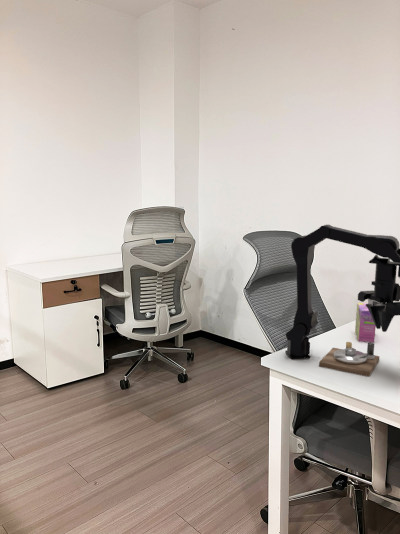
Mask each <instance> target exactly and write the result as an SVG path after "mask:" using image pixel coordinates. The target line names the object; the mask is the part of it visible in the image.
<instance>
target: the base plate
mask: <svg viewBox="0 0 400 534" xmlns="http://www.w3.org/2000/svg"><path fill="white" fill-rule="evenodd" d="M352 345H353V344H352V342H351V341H346V343H345V348H353V346H352ZM341 349H342V348H338V347H332V348H331V349H330V350H329V351H328V352H327V353H326V355H324V356H323V357H322V358H321V360H320V361H319V364H318V366H319V367H321V368H325V369H331V370H335V371H338V372H344V373H349V374H352V375H353V374H354V375H358V376H365V377H367V378H368V377H369V378H370V376H371V375H372V373H373V371H374V370H375V369H376V367H377V365H378V364H379V362H380V355H376V354H375V358H374V359H367V361H366V362H365V363H363V364H346V363H342V362H339V361H337V360H335V359H334V352H335V351H337V350H341Z"/></svg>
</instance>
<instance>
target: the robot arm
mask: <svg viewBox="0 0 400 534" xmlns="http://www.w3.org/2000/svg"><path fill="white" fill-rule="evenodd" d="M326 239H328V240H332V241H335V242H339V243H343V244H347V245H352V246H356V247H360V248H363V249H365V250H367V251H368V252H370V253H372V254H375V255H374V257H372V258H371V259H370V260H369V261H368V264H375V270H374V271H375V274H374V275H375V276H374V280H373V281H371V285H372V286H373V288H374V289H373V290H360V291H359V292H358V294H357V301H359V302H360V303H364V302H365V301H366V300H367V303H366V306H367V308H368V310H369V312H370V314H371V316H372V318H373V321H374V323H375V326H376V328H375V329H377V330H381V331H382V332H383V333H386V332H387V331H388V329H389V327H390V325H391V322H392V321H393V319H394V317H395V316H400V284H399V283H397V280H396V279H397V277H398V278H400V242H399V240H398V238H397V237H395V236H392V235H383V234H382V235H380V234H366V233H362V232H357V231H354V230H353V231H352V230H350V229H344V228H341V227H337V226H332V225H331V224H324V225H321V226H320V227H318V228H317V229H315V230H313V231H312V232H310V233H308V234H305V235H302V236H298V237H296V238H294V239H293V240H292V241H291V244H290V248H291V254H292V258H293V260H294V263H295V266H296V302H297V304H296V305H297V307H296V312H295V314H294V317H293V318H294V319H293V325H292V328H291V329H290V330H288V332H286V333H285V337H286V340H287V343H286V344H287V346H286V348H287V349H286V350H285V354H286V355H287V356H288V357H289V358H290V359H291V360H296V359H298V360H299V359H310V358H311V355H310V353H311V342H310V338H309V337H308V336H310V334H311V333H312V332H313V331H314V330H315V329H316V327H317V325H318V324H319V321H318V315H319V314H318V311H314V309H313V307H312V273H311V272H312V267H311V264H312V260H313V257H314V255H315V254H314V253H315V248H316V246H317V245H318V244H320V243H322V242H323V241H324V240H326ZM397 270H398V271H397Z"/></svg>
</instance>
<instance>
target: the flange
mask: <svg viewBox="0 0 400 534" xmlns="http://www.w3.org/2000/svg"><path fill="white" fill-rule="evenodd" d="M366 346H367V350H366V353H365V352H362V351H359V350H356V348H354V347H352V348H346V347H345V348H344V349H342V348H340V349H341V350H337V351H335V352H334V359H335V360H337V361H339V362H342V363H346V364H363V363H365V362H366V361H367V359H374V358H375V355H376V354H375V342H374V343H372V342H367V345H366ZM374 354H375V355H374Z"/></svg>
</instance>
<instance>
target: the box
mask: <svg viewBox="0 0 400 534" xmlns="http://www.w3.org/2000/svg"><path fill="white" fill-rule="evenodd" d="M366 304H367V303H364V302H357V303H356V311H355V312H356V314H355V327H354V333H355V336H356V339H357V342H360V343H362V342H363V343H374V344H375V339H376V338H375V337H376V329H377V328H376V326H375V323H374V321H373V318H372V316H371V314H370V312H369V310H368V308H367V306H366Z"/></svg>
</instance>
